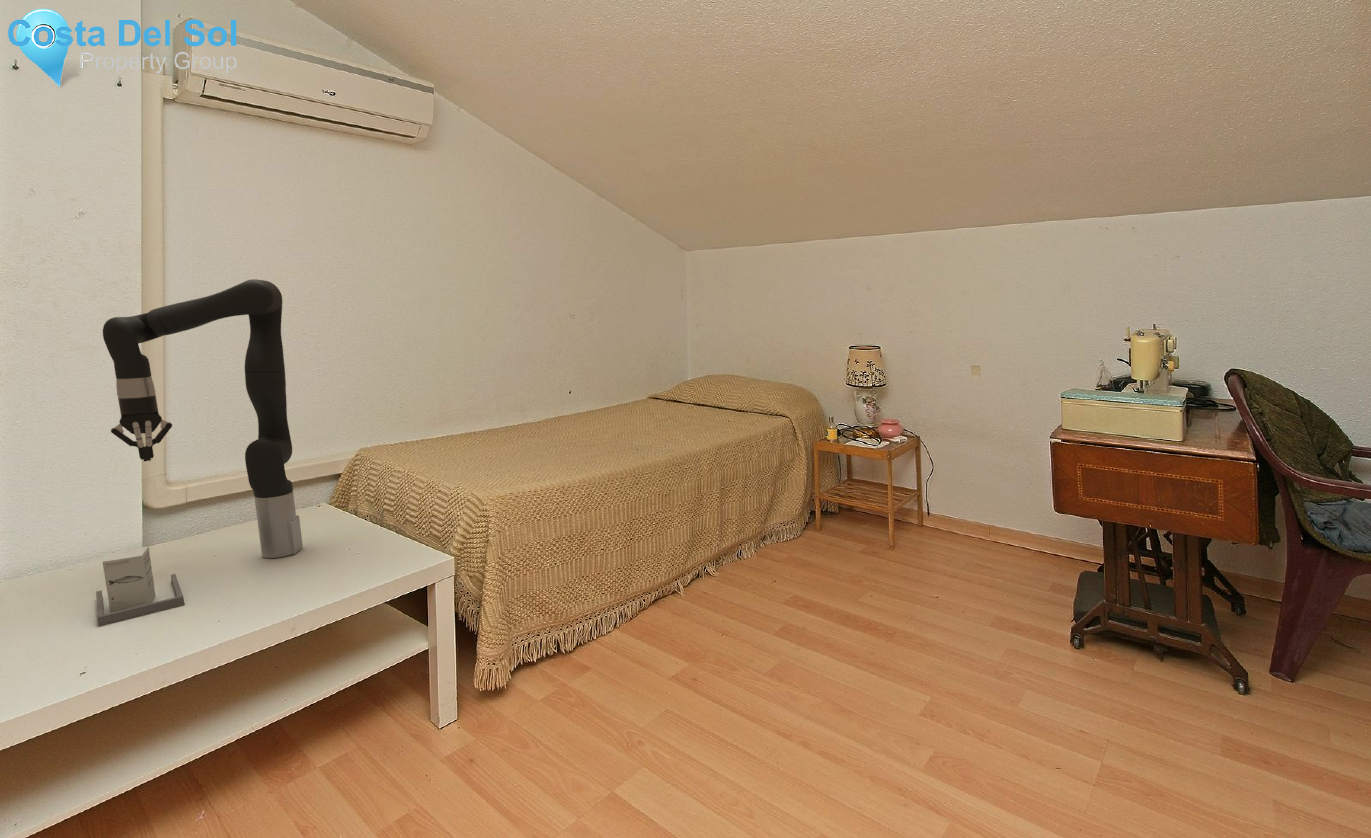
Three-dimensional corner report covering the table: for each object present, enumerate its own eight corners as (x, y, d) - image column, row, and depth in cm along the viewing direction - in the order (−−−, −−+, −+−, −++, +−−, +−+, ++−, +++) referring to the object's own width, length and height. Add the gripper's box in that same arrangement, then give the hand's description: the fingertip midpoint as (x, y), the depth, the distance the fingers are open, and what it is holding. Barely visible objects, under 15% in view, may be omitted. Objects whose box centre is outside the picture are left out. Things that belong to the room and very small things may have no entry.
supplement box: (109, 614, 148) (100, 561, 146) (117, 602, 154) (108, 551, 152) (151, 606, 151) (142, 554, 149) (157, 595, 158) (149, 545, 156)
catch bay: (97, 599, 156) (96, 591, 155) (176, 581, 166) (175, 573, 165) (98, 626, 142) (97, 617, 142) (184, 604, 152) (183, 596, 152)
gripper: (103, 399, 162) (114, 467, 165) (170, 393, 170) (180, 458, 173) (102, 396, 167) (113, 462, 170) (167, 391, 176) (177, 454, 179)
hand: (147, 460), depth 172 cm, fingers closed
